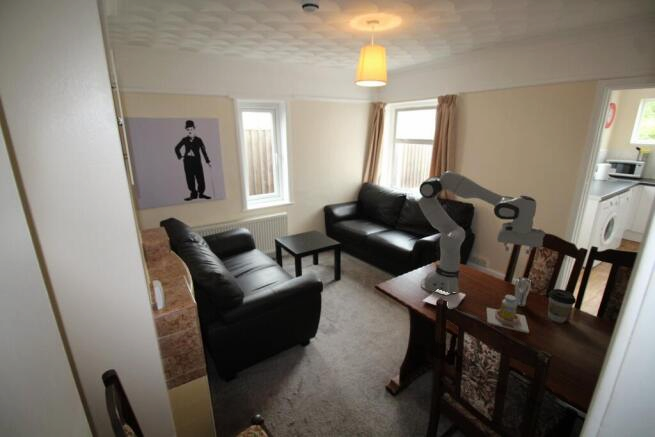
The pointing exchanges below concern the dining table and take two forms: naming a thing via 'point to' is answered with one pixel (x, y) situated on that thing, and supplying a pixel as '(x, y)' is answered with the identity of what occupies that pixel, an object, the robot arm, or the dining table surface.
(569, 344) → the dining table surface
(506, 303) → the supplement bottle
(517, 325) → the ring socket
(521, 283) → the beer glass
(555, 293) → the coffee cup
